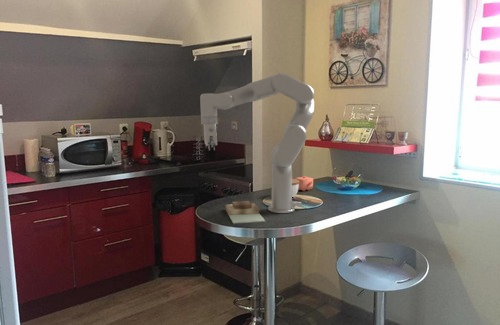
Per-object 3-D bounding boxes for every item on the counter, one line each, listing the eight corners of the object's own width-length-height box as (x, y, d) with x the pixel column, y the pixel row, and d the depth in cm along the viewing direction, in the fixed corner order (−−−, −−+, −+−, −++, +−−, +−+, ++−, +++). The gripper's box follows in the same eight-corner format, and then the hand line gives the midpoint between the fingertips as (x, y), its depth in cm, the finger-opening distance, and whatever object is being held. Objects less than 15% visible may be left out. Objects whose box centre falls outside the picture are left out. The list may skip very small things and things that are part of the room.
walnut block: (248, 204, 203) (248, 200, 203) (251, 208, 196) (251, 204, 196) (232, 205, 201) (232, 201, 201) (234, 209, 195) (234, 205, 194)
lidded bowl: (297, 200, 221) (297, 179, 219) (273, 199, 224) (273, 178, 222) (299, 195, 233) (300, 175, 232) (277, 194, 236) (277, 174, 234)
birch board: (254, 208, 206) (254, 203, 205) (259, 214, 195) (259, 209, 195) (225, 209, 203) (225, 204, 203) (229, 216, 192) (229, 210, 192)
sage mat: (259, 214, 195) (259, 213, 195) (265, 221, 184) (265, 220, 183) (229, 216, 192) (229, 215, 192) (233, 223, 181) (233, 222, 181)
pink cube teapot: (306, 192, 239) (306, 178, 238) (292, 189, 249) (292, 175, 247) (316, 191, 243) (317, 177, 242) (302, 187, 253) (303, 173, 252)
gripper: (220, 121, 187) (221, 159, 189) (214, 119, 204) (215, 155, 206) (203, 122, 185) (204, 160, 188) (199, 120, 202) (200, 155, 205)
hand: (210, 157), depth 197 cm, fingers open, 9 cm apart
